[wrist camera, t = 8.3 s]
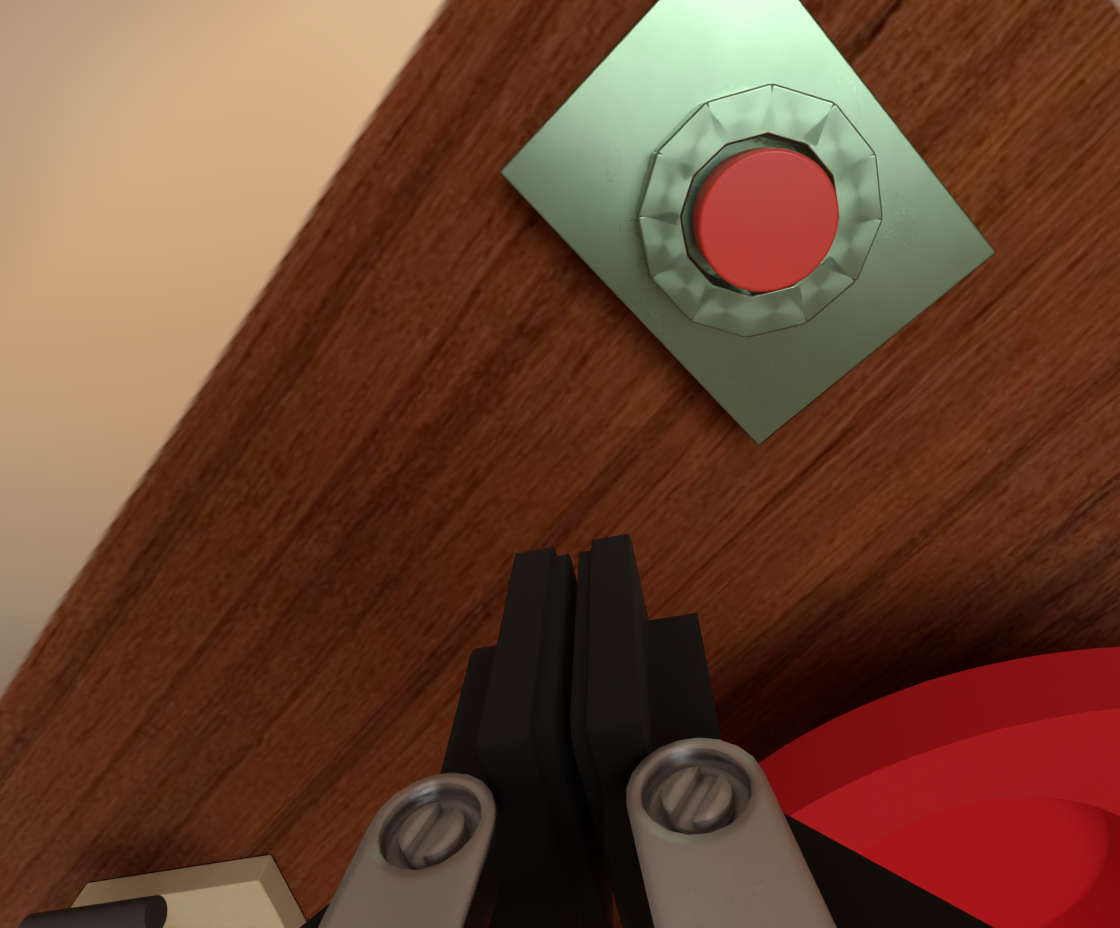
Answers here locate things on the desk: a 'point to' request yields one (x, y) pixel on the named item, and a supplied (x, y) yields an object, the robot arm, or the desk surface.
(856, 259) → the block
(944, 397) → the desk surface
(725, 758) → the robot arm
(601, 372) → the desk surface
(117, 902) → the switch lever
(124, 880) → the lever stand
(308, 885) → the desk surface
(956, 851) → the bowl
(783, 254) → the red button
